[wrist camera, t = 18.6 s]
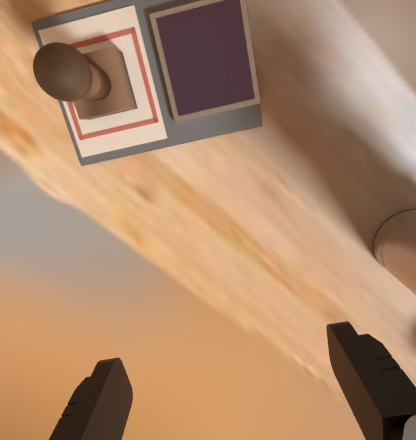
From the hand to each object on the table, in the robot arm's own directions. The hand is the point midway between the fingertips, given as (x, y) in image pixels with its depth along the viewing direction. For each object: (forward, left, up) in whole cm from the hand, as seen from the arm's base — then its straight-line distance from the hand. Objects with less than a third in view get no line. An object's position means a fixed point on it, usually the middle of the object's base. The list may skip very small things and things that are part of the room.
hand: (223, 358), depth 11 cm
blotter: (+4, -15, -28) cm, 32 cm away
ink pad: (-2, -15, -28) cm, 32 cm away
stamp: (+10, -15, -28) cm, 33 cm away
